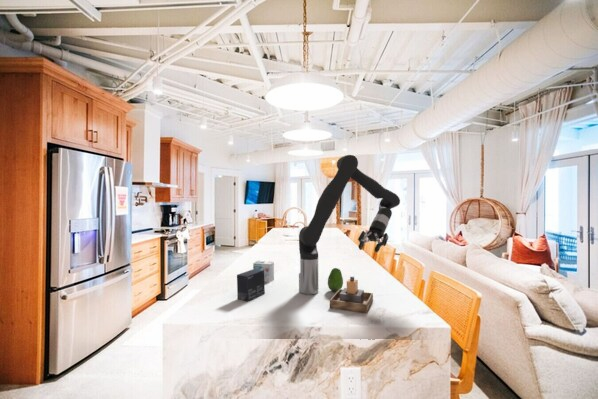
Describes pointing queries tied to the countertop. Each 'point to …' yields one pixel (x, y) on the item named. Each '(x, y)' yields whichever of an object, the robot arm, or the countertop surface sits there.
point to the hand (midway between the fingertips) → (367, 250)
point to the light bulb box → (265, 269)
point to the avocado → (335, 280)
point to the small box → (250, 284)
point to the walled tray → (351, 305)
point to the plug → (352, 286)
